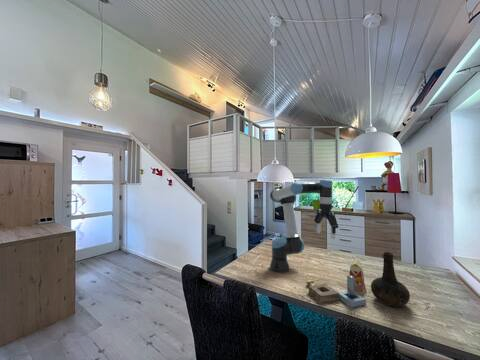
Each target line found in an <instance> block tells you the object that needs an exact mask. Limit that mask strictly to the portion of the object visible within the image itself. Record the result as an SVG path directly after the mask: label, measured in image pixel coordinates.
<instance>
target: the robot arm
mask: <svg viewBox="0 0 480 360" xmlns="http://www.w3.org/2000/svg"><path fill="white" fill-rule="evenodd" d="M301 194H319V208H318V209H317V210H316V211H317V212H316V214H315V217H314V219H313V220H314V221H313V222H315V225H316V226H315V227H316V234H321V233H322V231H321V230H322V227H321V225H322V224H321V222H322V220H323V219H324V218H325V219H326V220H327V221H328V223H329V225H330V227H331V228H330V240H331V239H332V240H333V239H336V229H338V228H339V225H338V221H337V219H336V214H335V211H331V210H333V204H332V203H333V180H331V179H320V180H319V182H315V181H314V182H311V181H310V182H292V184H290V185H289V186H285V187H283V188H275V189H273V190H272V191H270V193H269V198H270V200H271V201H272V202H274V203H276V204H277V203H278V204H279V203H280V206H282V208H283V214H284V222H285V230H286V236H285V237H278V238H277V237H276V238H274V239H272V242H271V255H272V256H271V261H270V265H269V269H270V270H271V271H273V272H276V273H287V272H289V270H290V266H289V265H290V264H289V262H288V255H295V254H296V255H297V254H300V253H303V251H304V249H305V242H304V240H303V239H302V238H301V237H300V234H298V229H297V222H296V216H295V209H294V205H295V202H296V201H297V195H301Z"/></svg>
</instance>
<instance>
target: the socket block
mask: <svg viewBox="0 0 480 360" xmlns="http://www.w3.org/2000/svg"><path fill="white" fill-rule="evenodd" d="M308 293H309V294H310V295H311V296H312V297H314V298H315V299H316V300H317V301H318V302H319V303H321V304H325V303H331V302H335V301H339V300H340V299H339V292H338V291H337V290H336V289H334V288H333V287H331V286H329V285H328V284H327V283H320V284H315V285H312V286H308Z"/></svg>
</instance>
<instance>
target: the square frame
mask: <svg viewBox="0 0 480 360" xmlns="http://www.w3.org/2000/svg"><path fill="white" fill-rule="evenodd" d="M338 293H339V300H340V301H342V302H343V303H345V304H346V305H347V306H348V307H350V308H356V307H361V306H366V304H367V299H366V298H365V297H363V296H361V294H358V293H355V299H350V298H349V297H347V290H345V291H341V292H338Z"/></svg>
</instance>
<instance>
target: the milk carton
mask: <svg viewBox="0 0 480 360" xmlns="http://www.w3.org/2000/svg"><path fill="white" fill-rule="evenodd" d="M348 275H352V276H354V277H355V293H357V294H358V295H365V293H366V290H367V288H366V284H365V275H364V271H363V266H362V262H361V261H359V259H358V257H356V259H353V260H351V263H350V267H349V274H348Z"/></svg>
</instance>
